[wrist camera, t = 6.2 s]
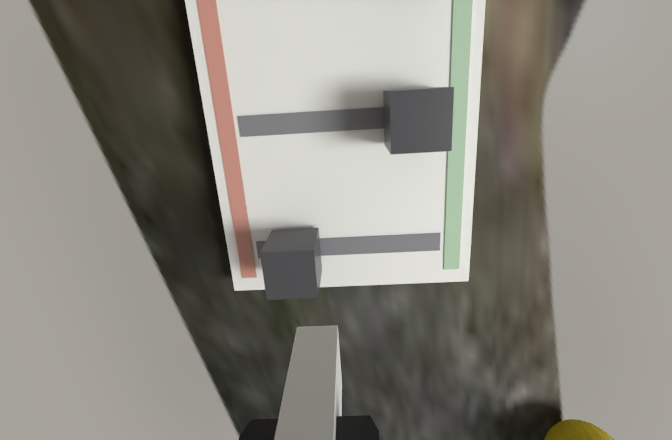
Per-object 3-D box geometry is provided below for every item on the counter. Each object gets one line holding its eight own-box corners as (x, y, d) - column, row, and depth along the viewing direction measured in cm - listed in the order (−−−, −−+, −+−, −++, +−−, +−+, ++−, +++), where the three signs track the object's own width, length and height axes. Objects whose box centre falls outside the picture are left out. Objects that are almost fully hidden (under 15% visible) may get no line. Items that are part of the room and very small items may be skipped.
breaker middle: (383, 90, 21) (389, 91, 18) (437, 87, 21) (453, 87, 18) (384, 144, 22) (390, 154, 19) (435, 141, 22) (451, 150, 19)
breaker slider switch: (271, 229, 24) (259, 252, 21) (318, 227, 24) (313, 250, 21) (277, 271, 25) (266, 299, 22) (322, 270, 25) (318, 297, 22)
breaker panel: (184, -80, 21) (167, -97, 19) (479, -106, 20) (493, -127, 18) (242, 276, 28) (234, 291, 26) (460, 267, 27) (469, 281, 25)
